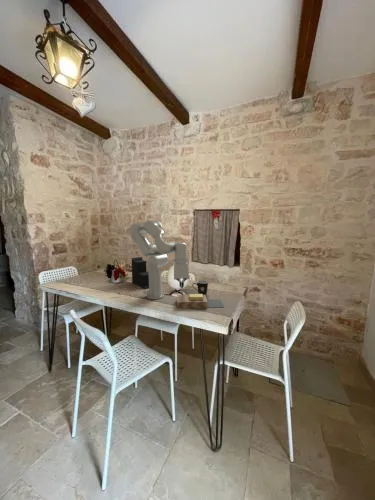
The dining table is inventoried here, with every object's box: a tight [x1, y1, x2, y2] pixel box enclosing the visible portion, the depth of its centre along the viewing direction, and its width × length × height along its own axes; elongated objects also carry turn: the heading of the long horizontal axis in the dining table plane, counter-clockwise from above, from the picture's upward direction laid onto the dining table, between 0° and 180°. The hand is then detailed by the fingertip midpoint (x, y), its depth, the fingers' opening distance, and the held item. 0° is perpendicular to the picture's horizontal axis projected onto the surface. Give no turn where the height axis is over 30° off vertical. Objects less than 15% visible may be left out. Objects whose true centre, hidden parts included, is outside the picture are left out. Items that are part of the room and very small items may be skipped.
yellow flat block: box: [188, 293, 203, 300], centre depth 151 cm, size 9×6×2 cm, turn 91°
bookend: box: [131, 256, 149, 290], centre depth 193 cm, size 23×11×24 cm, turn 41°
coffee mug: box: [191, 279, 209, 296], centre depth 171 cm, size 12×9×10 cm
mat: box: [207, 298, 225, 309], centre depth 152 cm, size 11×14×1 cm
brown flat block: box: [176, 294, 208, 309], centre depth 151 cm, size 20×14×4 cm
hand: (181, 287), depth 149 cm, fingers closed
